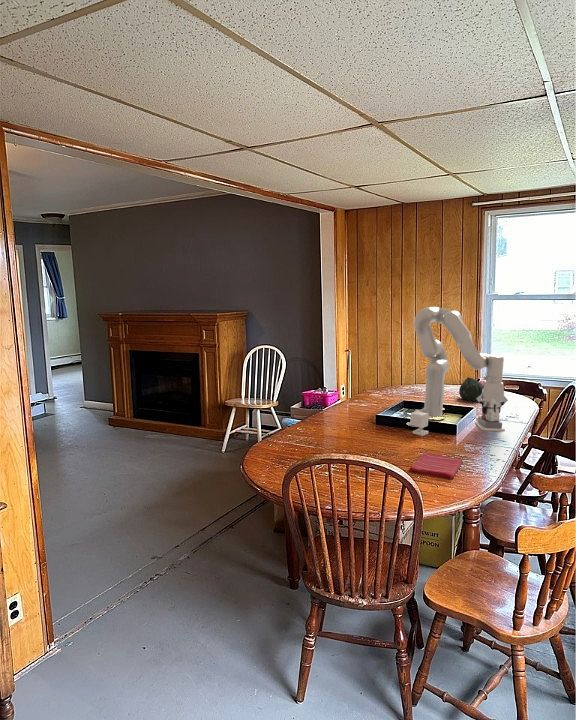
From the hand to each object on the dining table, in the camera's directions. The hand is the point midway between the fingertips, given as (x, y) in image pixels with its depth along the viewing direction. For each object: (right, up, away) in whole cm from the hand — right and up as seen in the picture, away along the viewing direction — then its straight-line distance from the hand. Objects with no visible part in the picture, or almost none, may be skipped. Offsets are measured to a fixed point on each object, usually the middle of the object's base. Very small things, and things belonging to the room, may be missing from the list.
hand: (490, 413), depth 274 cm
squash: (+10, +2, +61) cm, 62 cm away
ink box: (0, -4, +1) cm, 4 cm away
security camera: (-40, -8, -13) cm, 43 cm away
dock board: (0, -7, +1) cm, 7 cm away
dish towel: (-44, -16, -59) cm, 75 cm away
